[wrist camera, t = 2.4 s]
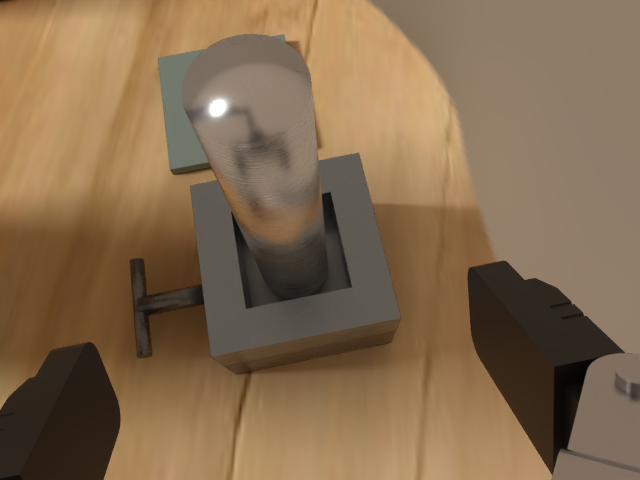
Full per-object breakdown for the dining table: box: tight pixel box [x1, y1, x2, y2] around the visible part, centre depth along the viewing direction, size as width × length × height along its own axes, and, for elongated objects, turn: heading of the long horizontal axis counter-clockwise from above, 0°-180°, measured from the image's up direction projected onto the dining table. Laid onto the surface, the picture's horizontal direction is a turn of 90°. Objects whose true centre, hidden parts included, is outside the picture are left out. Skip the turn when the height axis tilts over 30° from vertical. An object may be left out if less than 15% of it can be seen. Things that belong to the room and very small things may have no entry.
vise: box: [130, 153, 401, 374], centre depth 27 cm, size 12×8×6 cm, turn 101°
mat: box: [158, 34, 286, 174], centre depth 33 cm, size 8×8×1 cm
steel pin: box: [181, 34, 328, 298], centre depth 20 cm, size 3×3×14 cm
